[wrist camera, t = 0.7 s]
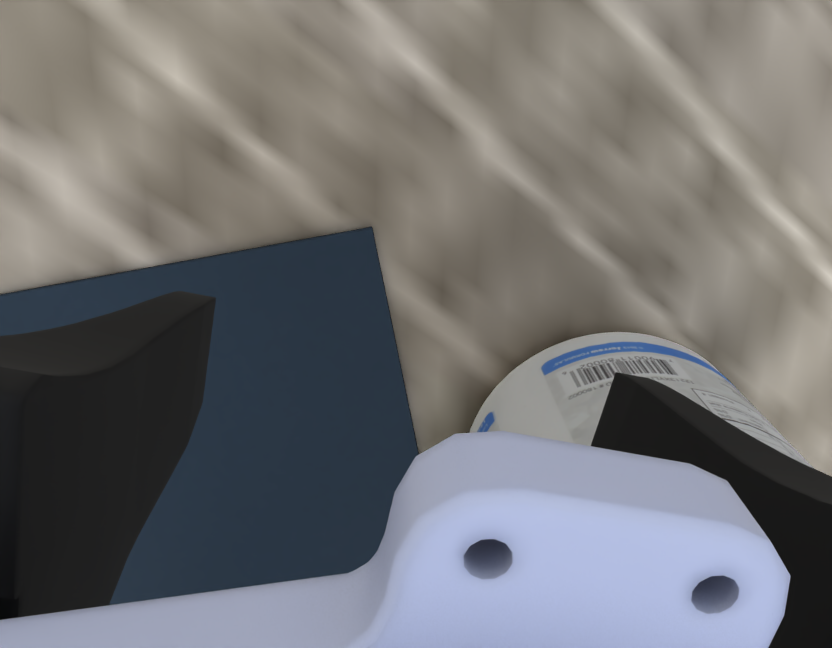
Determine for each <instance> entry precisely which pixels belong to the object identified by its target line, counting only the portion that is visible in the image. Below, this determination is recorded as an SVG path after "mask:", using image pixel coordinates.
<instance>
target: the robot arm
mask: <svg viewBox="0 0 832 648" xmlns="http://www.w3.org/2000/svg"><path fill="white" fill-rule="evenodd" d="M215 303H216V297H210V296H205V295H200V294H194V293H189V292H183V291H175V292H171V293H168V294H164V295H161V296H158V297H155V298H153V299H150V300H147V301H144V302H141V303H138V304H136V305H133V306H130V307H127V308H124V309H121V310H118V311H115V312H112V313H108V314H105V315H102V316H98V317H95V318H91V319H88V320H84V321H81V322H77V323H74V324H70V325H66V326H61V327H56V328H52V329H46V330H40V331H35V332H29V333H22V334H15V335H4V336H0V648H832V477H831V476H829V475H826V474H824V473H822V472H820V471H818V470H816V469H814V468H811V467H809V466H807V465H805V464H803V463H801V462H799V461H797V460H795V459H793V458H791V457H789V456H787V455H785V454H783V453H781V452H779V451H777V450H776V449H774V448H772V447H770V446H768V445H767V444H765V443H763V442H761V441H759V440H758V439H756V438H754V437H752V436H750V435H749V434H747V433H745V432H744V431H742V430H740V429H738V428H737V427H735V426H733V425H732V424H730V423H728V422H727V421H725V420H724V419H722V418H720V417H719V416H717V415H715V414H714V413H712V412H710V411H709V410H707V409H706V408H704V407H702V406H701V405H699V404H697V403H696V402H694V401H692V400H691V399H689V398H687V397H686V396H684V395H682V394H681V393H679V392H677V391H675V390H673V389H672V388H670V387H668V386H666V385H664V384H662V383H660V382H657V381H655V380H652V379H650V378H645V377H640V376H635V375H629V374H624V373H618V372H616V373H615V376H614V379H613V381H612V384H611V387H610V390H609V393H608V396H607V399H606V402H605V405H604V408H603V411H602V414H601V417H600V420H599V423H598V425H597V428H596V431H595V434H594V437H593V440H592V443H591V446H586V445H581V444H575V443H569V442H564V441H558V440H552V439H546V438H541V437H535V436H529V435H524V434H518V433H512V432H506V431H491V432H474V433H457V434H454V435H452V436H450V437H449V438H447V439H445V440H443V441H442V442H440V443H438V444H436V445H435V446H433V447H431V448H429V449H428V450H426V451H424V452H422V453H421V454H419V455H417V456H416V457H415V458H414V460H413V462H412V463H411V465H410V467H409V468H408V470H407V472H406V474H405V475H404V477H403V479H402V480H401V482H400V484H399V485H398V487H397V489H396V491H395V493H394V497H393V501H392V505H391V509H390V513H389V517H388V522H387V526H386V530H385V534H384V536H383V539H382V541H381V543H380V546H379V548H378V551H377V552H376V553H375V555H374V556H373V557H372V558H371V560H370V561H369V562H368V563H366V564H364V565H363V566H361V567H359V568H358V569H356V570H354V571H351V572H349V573H345V574H337V575H330V576H322V577H315V578H308V579H300V580H293V581H285V582H278V583H270V584H263V585H256V586H248V587H241V588H233V589H226V590H218V591H211V592H204V593H196V594H189V595H181V596H174V597H166V598H159V599H152V600H144V601H137V602H129V603H122V604H114V605H109V604H110V601H111V599H112V596H113V594H114V591H115V589H116V586H117V584H118V581H119V578H120V576H121V573H122V571H123V568H124V566H125V563H126V561H127V558H128V556H129V554H130V552H131V550H132V548H133V546H134V544H135V542H136V540H137V537H138V535H139V534H140V532H141V530H142V528H143V526H144V524H145V523H146V521H147V519H148V517H149V515H150V514H151V512H152V510H153V508H154V506H155V504H156V503H157V501H158V499H159V497H160V495H161V493H162V492H163V490H164V488H165V486H166V484H167V483H168V481H169V479H170V477H171V475H172V473H173V472H174V470H175V468H176V466H177V464H178V462H179V460H180V459H181V457H182V455H183V453H184V451H185V449H186V447H187V445H188V442H189V440H190V437H191V434H192V432H193V429H194V426H195V423H196V420H197V418H198V415H199V412H200V409H201V406H202V403H203V396H204V389H205V381H206V373H207V365H208V357H209V350H210V342H211V334H212V326H213V319H214V311H215Z"/></svg>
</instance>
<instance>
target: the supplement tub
mask: <svg viewBox="0 0 832 648" xmlns="http://www.w3.org/2000/svg"><path fill="white" fill-rule="evenodd" d="M616 372H618V373H624V374H629V375H635V376H640V377H645V378H650V379H652V380H655V381H657V382H660V383H662V384H664V385H666V386H668V387H670V388H672V389H673V390H675V391H677V392H679V393H681V394H682V395H684V396H686V397H687V398H689V399H691V400H692V401H694V402H696V403H697V404H699V405H701V406H702V407H704V408H706V409H707V410H709V411H710V412H712V413H714V414H715V415H717V416H719V417H720V418H722V419H724V420H725V421H727V422H728V423H730V424H732V425H733V426H735V427H737V428H738V429H740V430H742V431H744V432H745V433H747V434H749V435H750V436H752V437H754V438H756V439H758V440H759V441H761V442H763V443H765V444H767V445H768V446H770V447H772V448H774V449H776V450H777V451H779V452H781V453H783V454H785V455H787V456H789V457H791V458H793V459H795V460H797V461H799V462H801V463H803V464H805V465H807V466H809V467H811V468H813V467H812V466H811V465H810V464H809V462H808V461H807V460H806V459H805V458H804V457H803V456H802V455H801V454H800V453H799V452H798V451H797V450H796V449H795V448H794V447H793V446H792V445H791V444H790V443H789V442H788V441H787V440H786V439H785V438H784V437H783V436H782V435H781V434H780V433H779V432H778V430H777V429H776V428H775V427H774V426H773V425H772V424H771V423H770V422H769V421H768V420H767V419H766V418H765V417H764V416H763V415H762V414H761V413H760V412H759V411H758V410H757V409H756V408H755V407H754V406H753V405H752V404H751V403H750V402H749V401H748V400H747V399H746V398H745V397H744V396H743V395H742V394H741V392H740V391H739V390H738V389H736V387H735V386H734V385H733V384H732V383H731V382H730V381H729V380H728V379H727V378H725V377H724V376H723V375H722V374H721V373H720V372H719V371H718V370H717V369H716V368H715V367H714V366H713V365H712V364H711V363H710V362H708V361H707V360H706V359H704V358H703V357H702V356H700V355H699V354H697V353H695V352H694V351H692V350H690V349H688V348H686V347H684V346H682V345H680V344H677V343H675V342H672V341H669V340H666V339H663V338H659V337H656V336H651V335H647V334H640V333H630V332H606V333H597V334H591V335H585V336H581V337H577V338H573V339H570V340H567V341H564V342H561V343H559V344H556V345H554V346H551V347H549V348H547V349H545V350H543V351H541V352H539V353H537V354H536V355H534V356H532V357H531V358H529V359H528V360H526V361H525V362H523V363H522V364H520V365H519V366H517V367H516V368H515V369H514V370H513V371H511V372H510V373H509V374H508V375H507V376H506V377H505V378H504V379H503V380H502V381H501V382H500V383H499V384H498V385H497V386H496V387H495V388H494V390H493V391H492V392H491V394H490V395H489V396H488V398H487V399H486V400H485V402H484V404H483V405H482V407H481V409H480V410H479V412H478V414H477V416H476V418H475V420H474V422H473V424H472V426H471V429H470V432H469V433H474V432H491V431H506V432H512V433H518V434H524V435H529V436H535V437H541V438H546V439H552V440H558V441H564V442H569V443H575V444H581V445H586V446H591V443H592V440H593V437H594V434H595V431H596V428H597V425H598V423H599V420H600V417H601V414H602V411H603V408H604V405H605V402H606V399H607V396H608V393H609V390H610V387H611V384H612V381H613V379H614V376H615V373H616Z"/></svg>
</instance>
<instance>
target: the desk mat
mask: <svg viewBox="0 0 832 648" xmlns="http://www.w3.org/2000/svg"><path fill="white" fill-rule="evenodd" d="M175 291H183V292H189V293H194V294H200V295H205V296H210V297H216V303H215V311H214V319H213V326H212V334H211V342H210V350H209V357H208V365H207V373H206V381H205V389H204V396H203V403H202V406H201V409H200V412H199V415H198V418H197V420H196V423H195V426H194V429H193V432H192V434H191V437H190V440H189V442H188V445H187V447H186V449H185V451H184V453H183V455H182V457H181V459H180V460H179V462H178V464H177V466H176V468H175V470H174V472H173V473H172V475H171V477H170V479H169V481H168V483H167V484H166V486H165V488H164V490H163V492H162V493H161V495H160V497H159V499H158V501H157V503H156V504H155V506H154V508H153V510H152V512H151V514H150V515H149V517H148V519H147V521H146V523H145V524H144V526H143V528H142V530H141V532H140V534H139V535H138V537H137V540H136V542H135V544H134V546H133V548H132V550H131V552H130V554H129V556H128V558H127V561H126V563H125V566H124V568H123V571H122V573H121V576H120V578H119V581H118V584H117V586H116V589H115V591H114V594H113V596H112V599H111V601H110V604H109V605H114V604H122V603H129V602H137V601H144V600H152V599H159V598H166V597H174V596H181V595H189V594H196V593H204V592H211V591H218V590H226V589H233V588H241V587H248V586H256V585H263V584H270V583H278V582H285V581H293V580H300V579H308V578H315V577H322V576H330V575H337V574H345V573H349V572H351V571H354V570H356V569H358V568H359V567H361V566H363V565H364V564H366V563H368V562H369V561H370V560H371V558H372V557H373V556H374V555H375V553H376V552H377V551H378V548H379V546H380V543H381V541H382V539H383V536H384V534H385V530H386V526H387V522H388V517H389V513H390V509H391V505H392V501H393V497H394V493H395V491H396V489H397V487H398V485H399V484H400V482H401V480H402V479H403V477H404V475H405V474H406V472H407V470H408V468H409V467H410V465H411V463H412V462H413V460H414V458H415V457H416V456H417V455H419V453H418V448H417V443H416V438H415V433H414V429H413V424H412V419H411V414H410V409H409V404H408V399H407V394H406V390H405V385H404V380H403V375H402V370H401V365H400V360H399V356H398V351H397V346H396V341H395V336H394V331H393V326H392V321H391V317H390V312H389V307H388V302H387V297H386V292H385V287H384V282H383V278H382V273H381V268H380V263H379V258H378V253H377V248H376V243H375V239H374V234H373V229H372V227H368V228H362V229H357V230H351V231H346V232H340V233H335V234H329V235H324V236H318V237H313V238H307V239H302V240H296V241H291V242H285V243H280V244H275V245H269V246H264V247H258V248H253V249H247V250H242V251H236V252H231V253H225V254H220V255H214V256H209V257H203V258H198V259H192V260H187V261H181V262H176V263H170V264H165V265H159V266H154V267H148V268H143V269H138V270H132V271H127V272H121V273H116V274H110V275H105V276H99V277H94V278H88V279H83V280H77V281H72V282H66V283H61V284H55V285H50V286H44V287H39V288H33V289H28V290H22V291H17V292H11V293H6V294H1V295H0V336H4V335H15V334H22V333H29V332H35V331H40V330H46V329H52V328H56V327H61V326H66V325H70V324H74V323H77V322H81V321H84V320H88V319H91V318H95V317H98V316H102V315H105V314H108V313H112V312H115V311H118V310H121V309H124V308H127V307H130V306H133V305H136V304H138V303H141V302H144V301H147V300H150V299H153V298H155V297H158V296H161V295H164V294H168V293H171V292H175Z"/></svg>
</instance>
